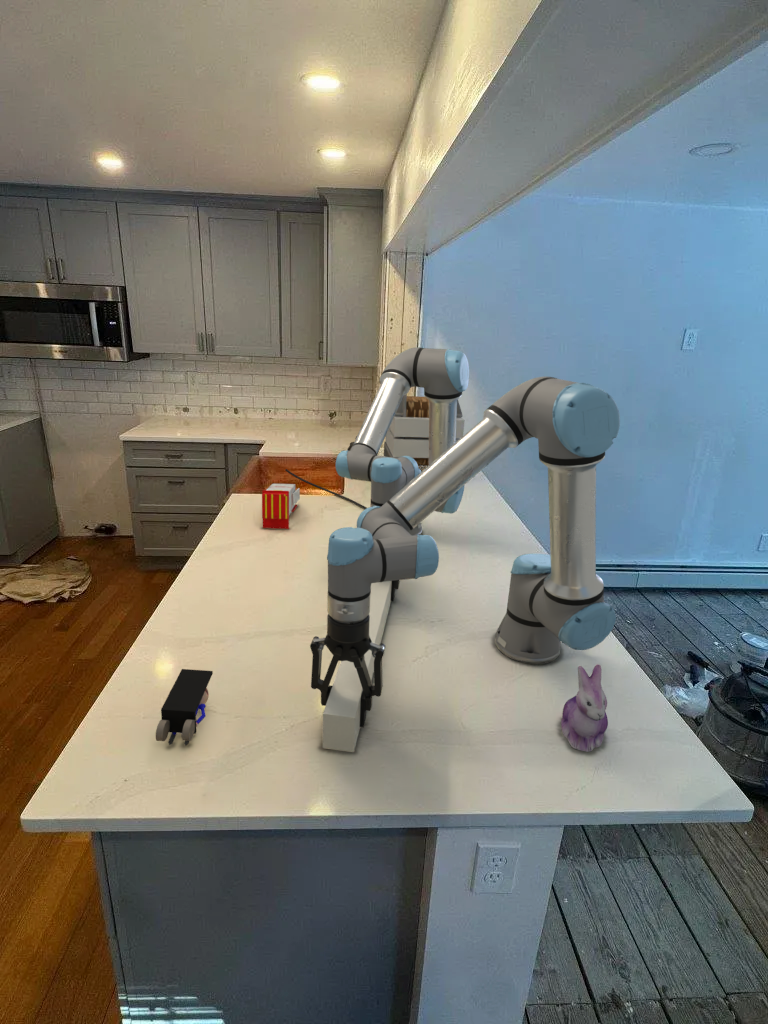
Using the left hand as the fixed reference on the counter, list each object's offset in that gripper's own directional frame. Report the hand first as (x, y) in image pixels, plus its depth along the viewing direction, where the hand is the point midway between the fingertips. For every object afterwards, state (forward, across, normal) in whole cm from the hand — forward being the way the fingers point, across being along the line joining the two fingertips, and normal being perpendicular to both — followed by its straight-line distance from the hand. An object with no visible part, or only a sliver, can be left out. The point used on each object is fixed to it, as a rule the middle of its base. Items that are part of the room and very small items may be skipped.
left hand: (380, 597), depth 154 cm
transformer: (+1, +2, +129) cm, 129 cm away
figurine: (+1, +45, -45) cm, 64 cm away
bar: (+1, 0, -25) cm, 25 cm away
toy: (+1, -45, +56) cm, 72 cm away
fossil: (+1, -34, +159) cm, 162 cm away
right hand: (0, 0, -50) cm, 50 cm away
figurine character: (+1, -29, -56) cm, 63 cm away
